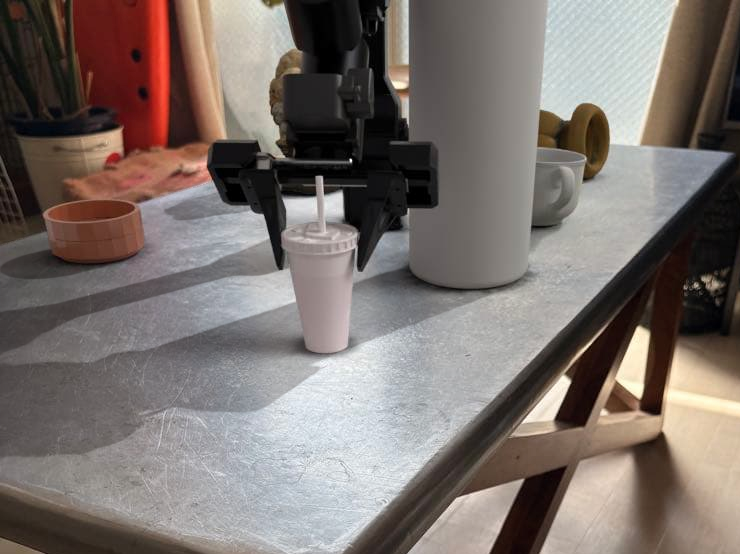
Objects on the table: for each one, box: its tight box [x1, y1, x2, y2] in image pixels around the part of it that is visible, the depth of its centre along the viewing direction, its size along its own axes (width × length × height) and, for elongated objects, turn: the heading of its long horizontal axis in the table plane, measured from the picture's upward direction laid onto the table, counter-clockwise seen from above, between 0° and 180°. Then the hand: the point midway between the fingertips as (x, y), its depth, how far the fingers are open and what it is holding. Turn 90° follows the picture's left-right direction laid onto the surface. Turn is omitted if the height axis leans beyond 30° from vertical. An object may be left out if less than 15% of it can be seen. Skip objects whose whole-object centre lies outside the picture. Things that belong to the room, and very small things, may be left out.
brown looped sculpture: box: [537, 102, 611, 180], centre depth 127 cm, size 18×13×22 cm
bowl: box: [42, 198, 147, 264], centre depth 98 cm, size 10×10×4 cm
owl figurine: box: [268, 48, 342, 195], centre depth 121 cm, size 18×12×17 cm, turn 165°
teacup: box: [531, 147, 587, 227], centre depth 106 cm, size 14×11×8 cm
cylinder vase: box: [408, 0, 549, 290], centre depth 86 cm, size 12×12×25 cm
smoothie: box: [281, 176, 359, 354], centre depth 72 cm, size 6×6×14 cm
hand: (319, 268), depth 71 cm, fingers closed on smoothie, 6 cm apart
